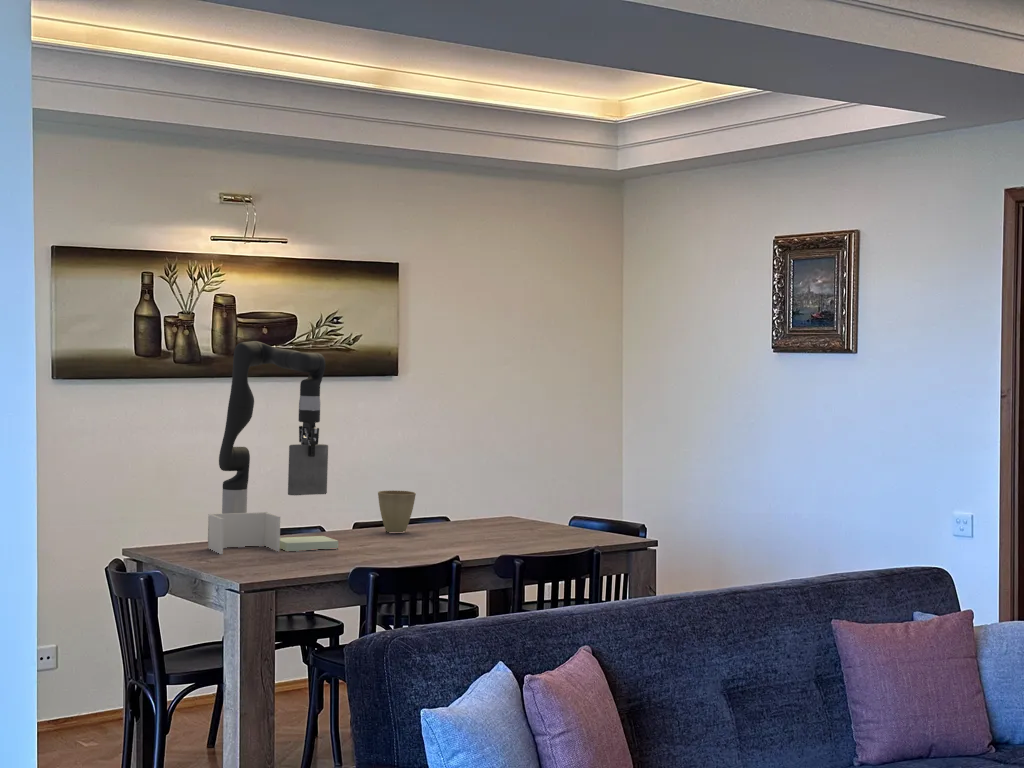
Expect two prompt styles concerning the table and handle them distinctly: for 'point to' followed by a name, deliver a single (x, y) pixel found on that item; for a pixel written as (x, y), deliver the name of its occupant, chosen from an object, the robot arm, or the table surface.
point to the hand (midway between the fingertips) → (308, 455)
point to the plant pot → (396, 509)
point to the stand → (307, 543)
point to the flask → (307, 470)
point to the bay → (243, 530)
